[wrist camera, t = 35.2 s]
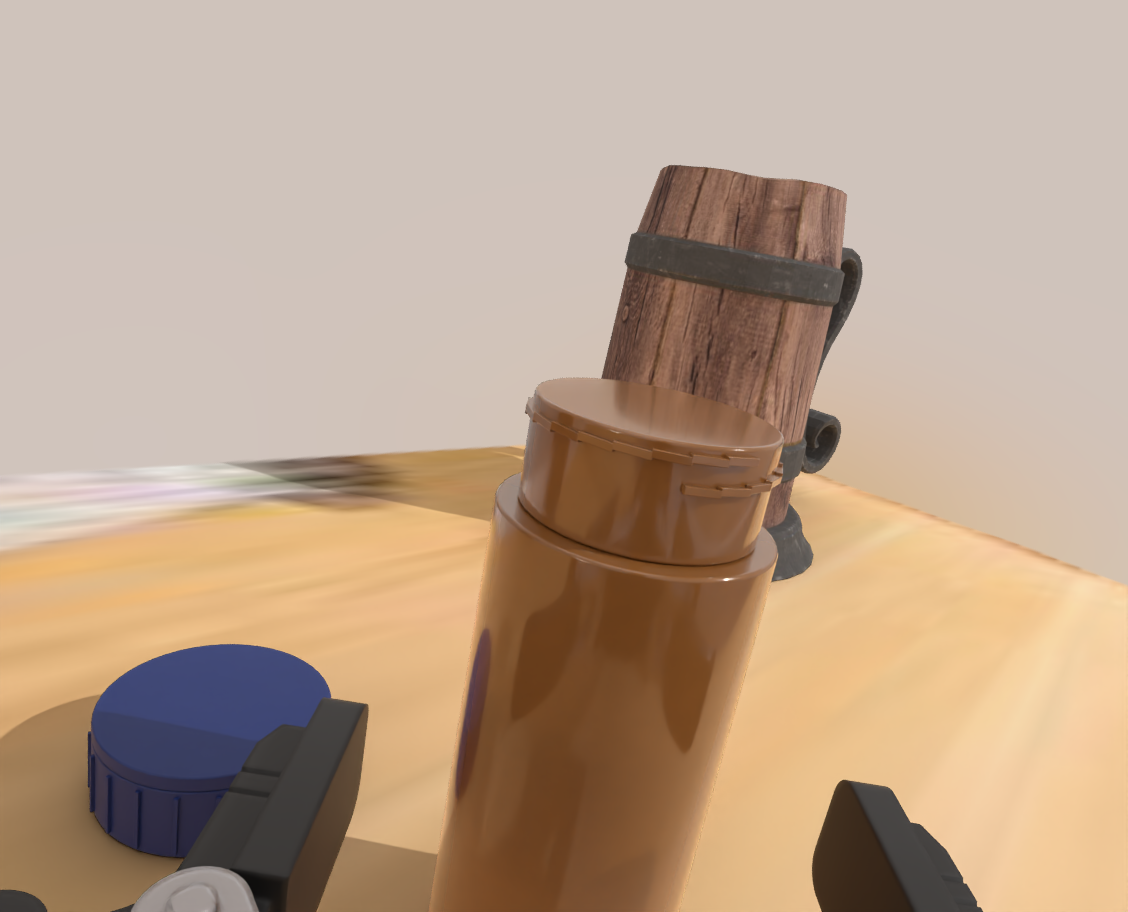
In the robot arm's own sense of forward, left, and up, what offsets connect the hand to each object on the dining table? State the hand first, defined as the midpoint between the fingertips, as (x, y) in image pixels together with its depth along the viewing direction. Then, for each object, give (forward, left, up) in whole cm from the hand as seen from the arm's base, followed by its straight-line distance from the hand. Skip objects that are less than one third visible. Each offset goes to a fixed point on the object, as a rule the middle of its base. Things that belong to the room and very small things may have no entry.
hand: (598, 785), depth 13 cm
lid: (-10, -5, -5) cm, 12 cm away
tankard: (-26, +26, -7) cm, 38 cm away
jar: (-2, +1, -7) cm, 7 cm away
